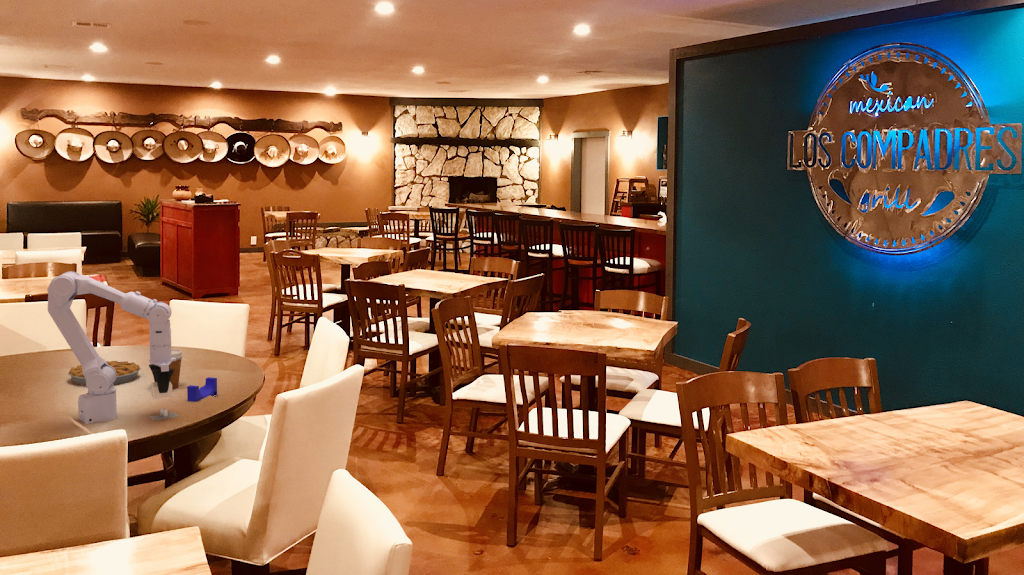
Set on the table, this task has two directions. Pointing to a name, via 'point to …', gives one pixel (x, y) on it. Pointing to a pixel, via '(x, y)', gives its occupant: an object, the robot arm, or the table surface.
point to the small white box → (156, 393)
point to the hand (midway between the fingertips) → (161, 390)
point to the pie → (122, 369)
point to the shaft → (163, 412)
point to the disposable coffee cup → (175, 367)
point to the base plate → (158, 417)
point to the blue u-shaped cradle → (202, 390)
